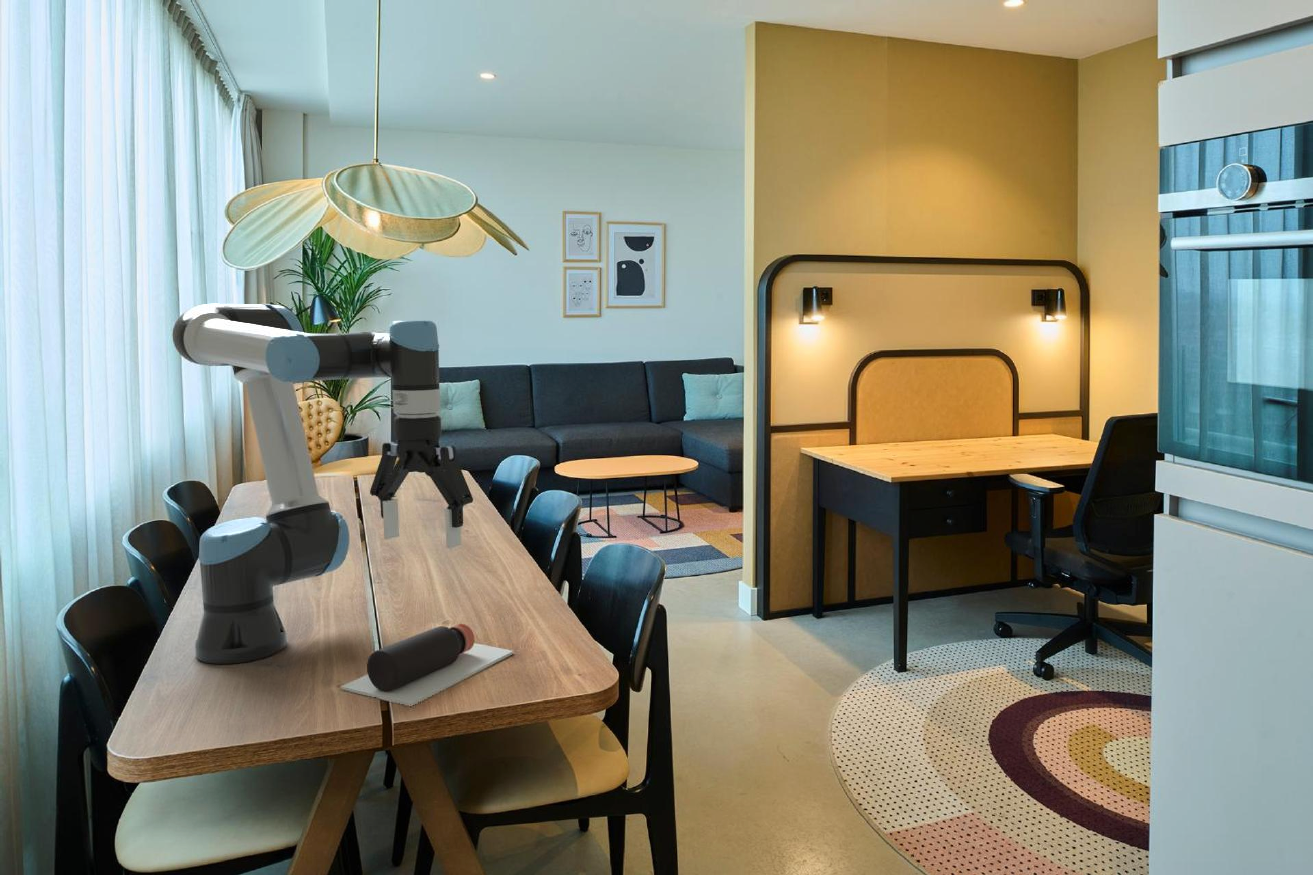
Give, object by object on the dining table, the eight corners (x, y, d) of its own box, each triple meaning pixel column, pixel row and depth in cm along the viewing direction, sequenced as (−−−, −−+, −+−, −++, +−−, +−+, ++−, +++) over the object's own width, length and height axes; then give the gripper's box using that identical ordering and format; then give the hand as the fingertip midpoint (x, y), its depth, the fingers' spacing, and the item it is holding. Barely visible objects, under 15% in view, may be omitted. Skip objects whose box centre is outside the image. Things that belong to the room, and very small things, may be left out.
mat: (341, 689, 150) (341, 686, 150) (448, 640, 172) (448, 637, 172) (411, 706, 143) (410, 703, 143) (513, 653, 165) (513, 650, 165)
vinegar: (359, 667, 149) (443, 633, 167) (382, 700, 147) (465, 663, 165) (379, 642, 146) (463, 610, 164) (403, 676, 145) (485, 640, 162)
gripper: (344, 414, 154) (350, 538, 157) (461, 420, 142) (466, 555, 145) (377, 410, 160) (383, 529, 163) (492, 416, 149) (496, 545, 151)
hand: (422, 542), depth 154 cm, fingers open, 13 cm apart
